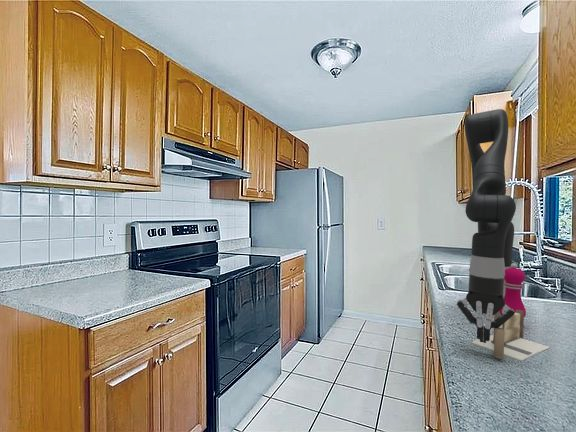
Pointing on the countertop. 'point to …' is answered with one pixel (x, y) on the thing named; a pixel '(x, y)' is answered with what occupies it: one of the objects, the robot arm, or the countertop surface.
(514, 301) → the pepper mill
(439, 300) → the countertop surface
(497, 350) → the fence gate
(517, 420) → the countertop surface
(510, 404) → the countertop surface
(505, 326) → the fence fixed
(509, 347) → the card
